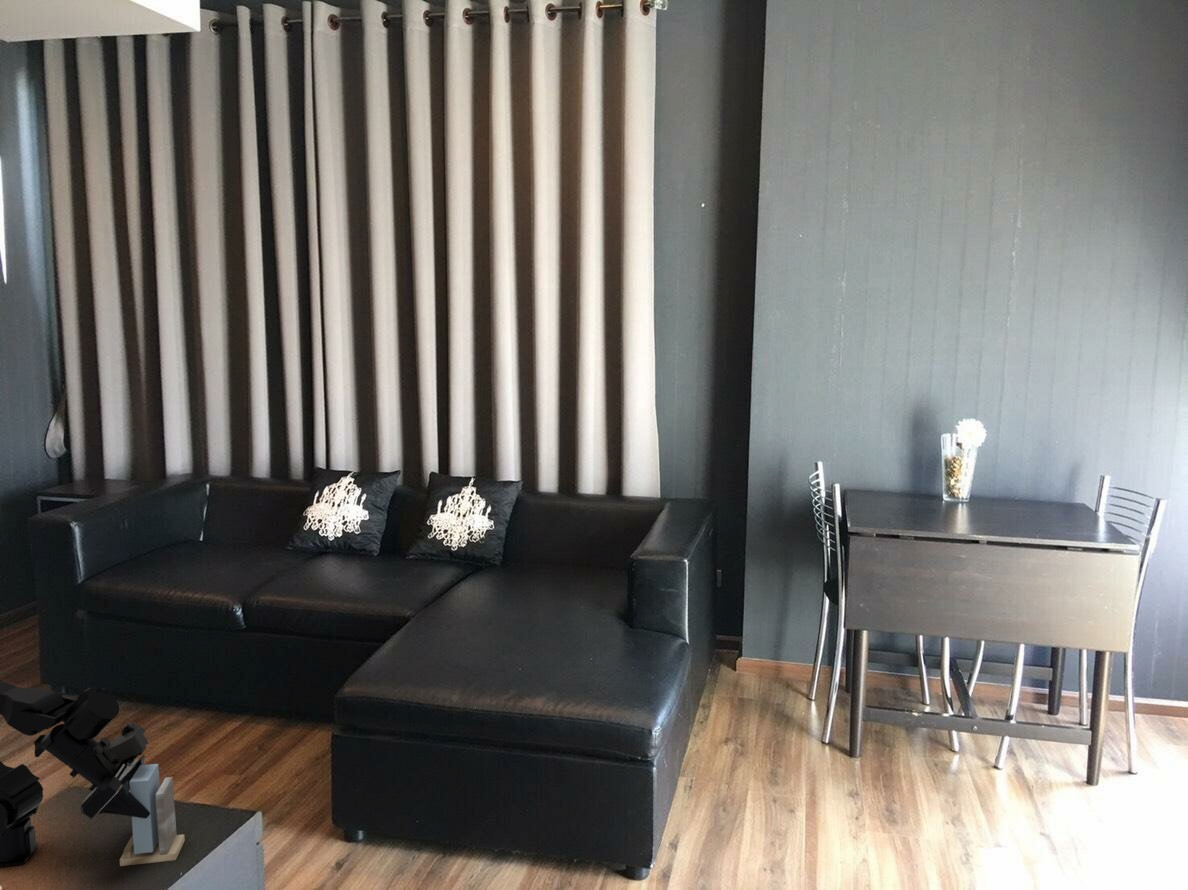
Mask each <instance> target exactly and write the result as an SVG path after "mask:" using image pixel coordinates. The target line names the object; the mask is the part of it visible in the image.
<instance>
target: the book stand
mask: <svg viewBox="0 0 1188 890" xmlns="http://www.w3.org/2000/svg"><path fill="white" fill-rule="evenodd" d="M173 777H174V776H170V777H169V776H168V777H164V779H163V781H162V782H161V783H160V784H161V785H160V788H159V790H158V791H157V793H156V807H157V821H158V835H159V841H158V843H157V845H156V847H155V849H154V851H153V852H149V853H139V854H134V842H133V834H131V836H130V838H129V840H128V842H127V844H126V846H125V848H124V849H123V851H122V852H123V853H122V855H121V857H120V858H119V866H120V867H124V866H134V865H144V864H152V863H153V864H154V863H161V862H171V861H176V860H177V858H178V857H179V854H180V852H181V850H182V847H183V845H184V843H185V841H186V839H185V833H184V834H183V833H182V834H177V823H176V808H175V794H174V781H173Z"/></svg>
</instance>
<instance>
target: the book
mask: <svg viewBox="0 0 1188 890" xmlns="http://www.w3.org/2000/svg"><path fill="white" fill-rule="evenodd" d="M159 770H160V768H159V763H150V764H144V765H140V766H139V768H138V770H137V771H136V773H135V774H134V776H133V777H132V779H131V780H130V782H129V783H130V790H129V792H130V793H131V794H132V795H133V796H134V797H135V798H136V799H137V800H138V801H139V802H140V803H141V804H142V805H143V806H144V807H145V808H146V809H147V810H148V811H149V812H150V815H149V816H148V817H147V818H146V819H145V818H138V817H132V816H131V826H132V828H131V829H132V835H133V842H134V854H139V853H149V852H153V851H154V849H155V847H156V845H157V843H158V841H159V835H158V821H157V807H156V793H157V791H158V790H159V788H160V786H161V785H160V784H161V783H160V771H159Z"/></svg>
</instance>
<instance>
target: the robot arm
mask: <svg viewBox="0 0 1188 890" xmlns="http://www.w3.org/2000/svg"><path fill="white" fill-rule="evenodd" d="M119 713H120V705H119V703H118V701H117V699H116V698H115V697H114V696H113V695H109V694H107V693H105V692H101V691H96V690H95V689H94V688H93V687H89V688H87V689H85V690H83V691H82V692H81V693H80V694H78V697H77V699H75V698H71V697H66V696H63V695H62V694H61V693H59V692H58V691H55V690H50V689H46V688H40V687H26V688H25V687H19V686H16V685H13V684H10V683H8V682H5V681H3V680H0V716H2V717H3V718H4V721H5V723H6V724H7V725H8V726H9V727H10V728H12V729H14V730H16V731H17V732H19V733H20V734H23V735H24V736H29V737H31V736H35V735H37V734H39V736H38V737H37V738H36V739H35V740H34V741H33V744H34V757H35V758H39V757H40V756H41V755H42V754H43V753H44V752H45V751H46V752H48V753H50V755H52V756H53V757H55V758H56V760H58V761H60V762H61V763H63V765H64V766H67V767H68V768H69V769H70V770H71V771H70V772H69V774H68V775H69V776H70V777H72V778H73V779H74V778H75V777H76V776H77V775H79V777H81V778H83V780H85V781H87V782H88V783H89V784H90V787H89V788H88V790H89V791H91V792H90V793H89V794H88V795H87V796H86V797H85V798H84V800H83V802H82V803H81V804H80V814H81V815H83V816H85V818H88V820H92V819H93V818H94V817H95V816H96V815H97V814H98V815H102V814H108V815H120V816H125V817H127V816H128V817H131V818H132V817H138V818H145V819H146V818H147V817H148V816H149V815H150V812H149V811H148V810H147V809H146V808H145V807H144V806H143V805H142V804H141V803H140V802H139V801H138V800H137V799H136V798H135V797H134V796H133V795H132V794H131V793H130V783H129V782H130V780H131V779H132V777H133V776H134V774H135V773H136V771H137V770H138V768H139V766H140V765H145V758H146V756H145V754H143V753H144V751H145V750H146V749H147V746H146V745H148V744H149V740H148V739H147V736H145V733H146V732H147V731H146V729H145V728H142V727H141V725H137V724H136V723H135V722H133V721H132V722H129V723H128V724H125V725H124V726H123V728H122V729H121V735H119V736H118V737H117V738H116V739H114V740H112V741H110V740H109V739H107V738H105V737H104V738H103V737H102V738H100V740H97V739H96V738H97V737H98V735H100V733H102V731H103V730H104V729H106V728H107V726H108V725H109V724H110V723H111V722H112V721H113V720H114V719H115V718H116V717H117V716H118V715H119ZM61 722H63V723H61ZM60 723H61V724H60ZM52 727H53V728H52ZM49 729H50V731H49V732H48V733H47V734H40V733H41V732H43V731H45V730H49ZM142 754H143V755H142ZM139 756H141V757H140V758H138V757H139ZM39 780H40V777H38V776H36V775H35V774H34V773H32V771H31V770H30V768H29V767H28V766H27V765H25V764H23V763H21V764H19V765H18V766H16V767H12V766H8V765H5V764H4V763H3V762H2V761H1V760H0V867H10V866H21V865H23V864H25V863H26V862H27V861H28V859H29V858H30V856H31V855H32V853H34V851H35V850H36V848H37V847H38V843H37V839H36V828H35V826H34V825H32V819H31V817H32V816H34V815H36V814H37V813H38V810H39V807H40V804H41V803H42V801H43V798H44V793H43V791H44V788H43V785H42V784H41V782H39Z"/></svg>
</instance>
